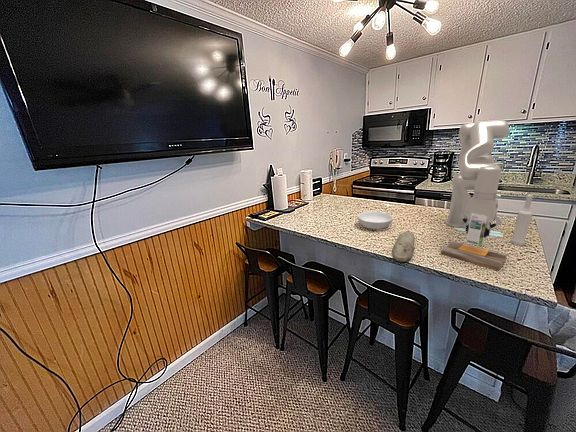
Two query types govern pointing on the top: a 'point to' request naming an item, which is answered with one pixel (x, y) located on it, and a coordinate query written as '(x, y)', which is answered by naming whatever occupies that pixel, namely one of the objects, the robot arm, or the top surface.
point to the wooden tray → (475, 256)
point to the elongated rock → (404, 247)
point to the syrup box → (476, 229)
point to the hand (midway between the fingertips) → (476, 234)
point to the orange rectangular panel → (474, 250)
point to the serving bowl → (375, 219)
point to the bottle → (522, 223)
